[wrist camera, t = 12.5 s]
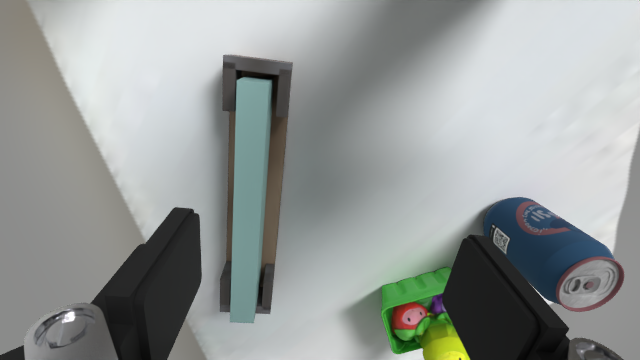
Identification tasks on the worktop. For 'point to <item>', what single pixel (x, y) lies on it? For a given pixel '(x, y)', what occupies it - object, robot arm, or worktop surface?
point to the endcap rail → (281, 73)
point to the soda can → (554, 254)
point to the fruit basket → (421, 317)
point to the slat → (249, 192)
